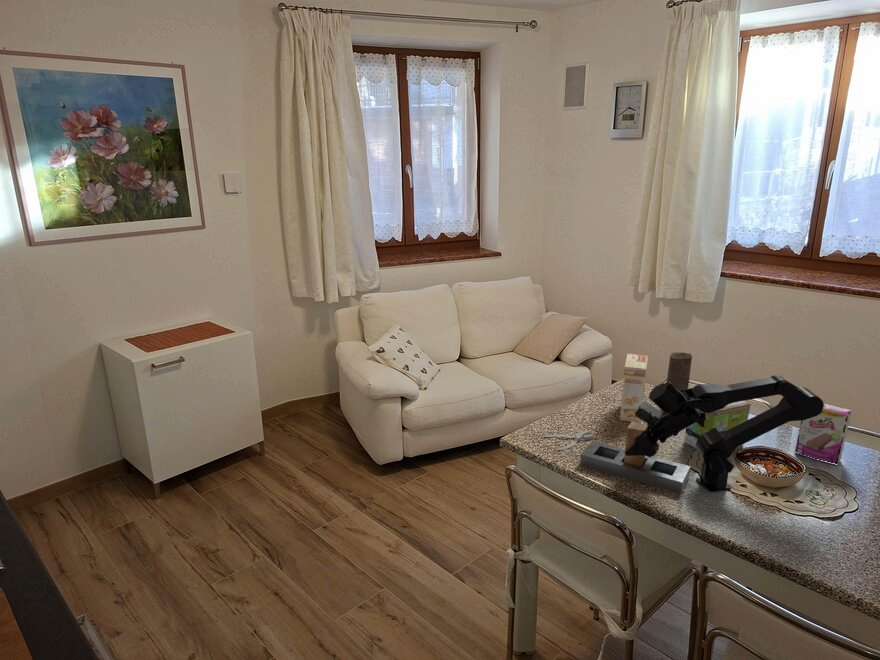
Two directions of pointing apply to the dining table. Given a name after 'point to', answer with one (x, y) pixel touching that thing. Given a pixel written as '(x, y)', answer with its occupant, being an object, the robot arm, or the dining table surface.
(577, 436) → the pliers
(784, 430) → the dining table surface
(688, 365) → the candle
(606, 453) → the grey long block
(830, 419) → the candy bar box
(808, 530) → the dining table surface
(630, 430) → the peg
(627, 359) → the coffeecake box
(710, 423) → the tea box
